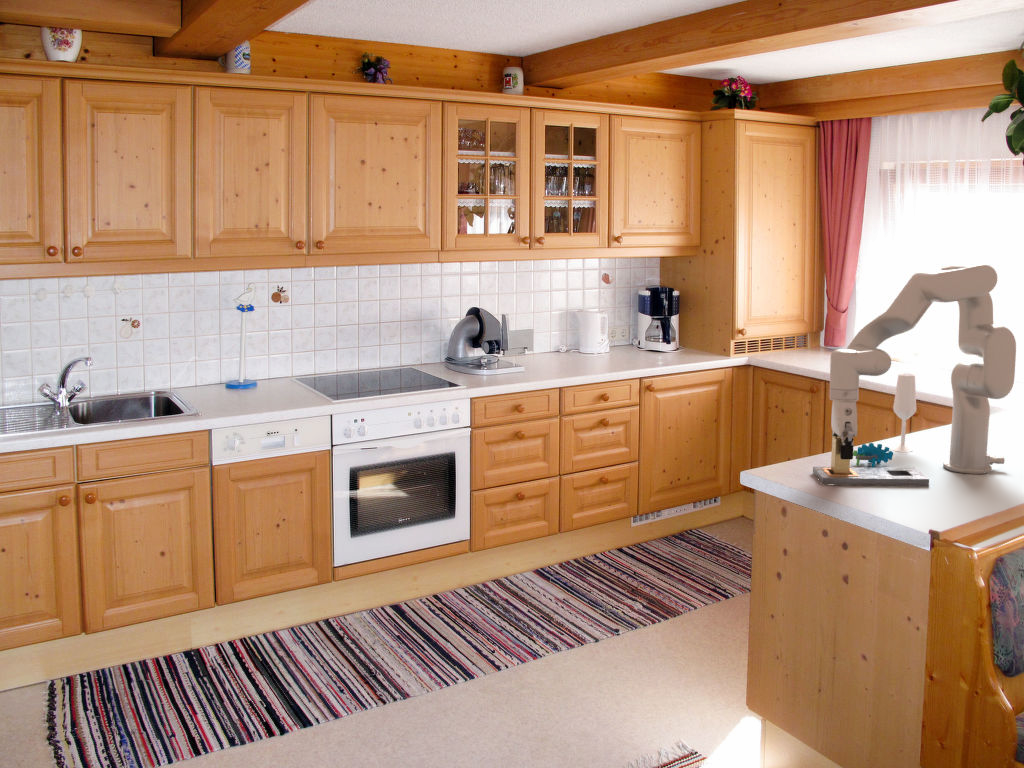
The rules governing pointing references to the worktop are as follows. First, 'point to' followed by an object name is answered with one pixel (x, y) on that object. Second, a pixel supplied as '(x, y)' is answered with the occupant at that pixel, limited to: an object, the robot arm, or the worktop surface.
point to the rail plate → (873, 476)
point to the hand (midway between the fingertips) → (842, 454)
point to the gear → (873, 454)
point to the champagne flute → (904, 405)
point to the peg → (838, 458)
